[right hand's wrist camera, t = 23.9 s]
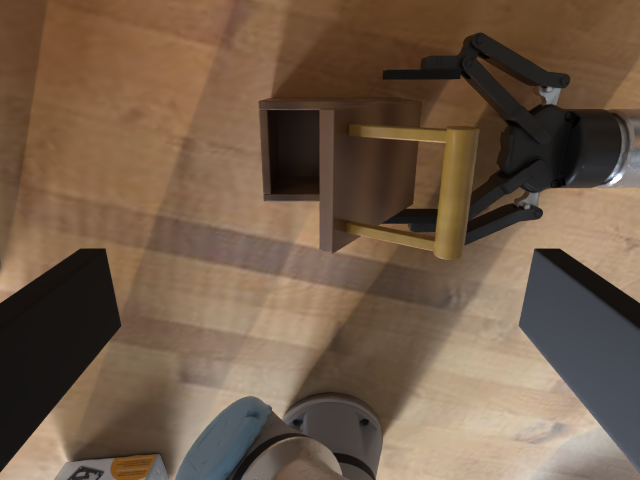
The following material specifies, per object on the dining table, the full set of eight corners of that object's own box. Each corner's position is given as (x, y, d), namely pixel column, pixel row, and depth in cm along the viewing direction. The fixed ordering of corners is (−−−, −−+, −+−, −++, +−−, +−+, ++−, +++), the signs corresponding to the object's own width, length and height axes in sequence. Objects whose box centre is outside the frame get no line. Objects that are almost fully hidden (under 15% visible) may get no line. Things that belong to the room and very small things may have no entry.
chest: (273, 181, 47) (263, 201, 39) (270, 98, 44) (258, 101, 36) (391, 181, 47) (406, 201, 39) (396, 97, 44) (414, 101, 36)
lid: (319, 250, 27) (450, 283, 23) (319, 108, 24) (472, 114, 20) (402, 202, 39) (501, 218, 34) (410, 101, 35) (520, 103, 31)
